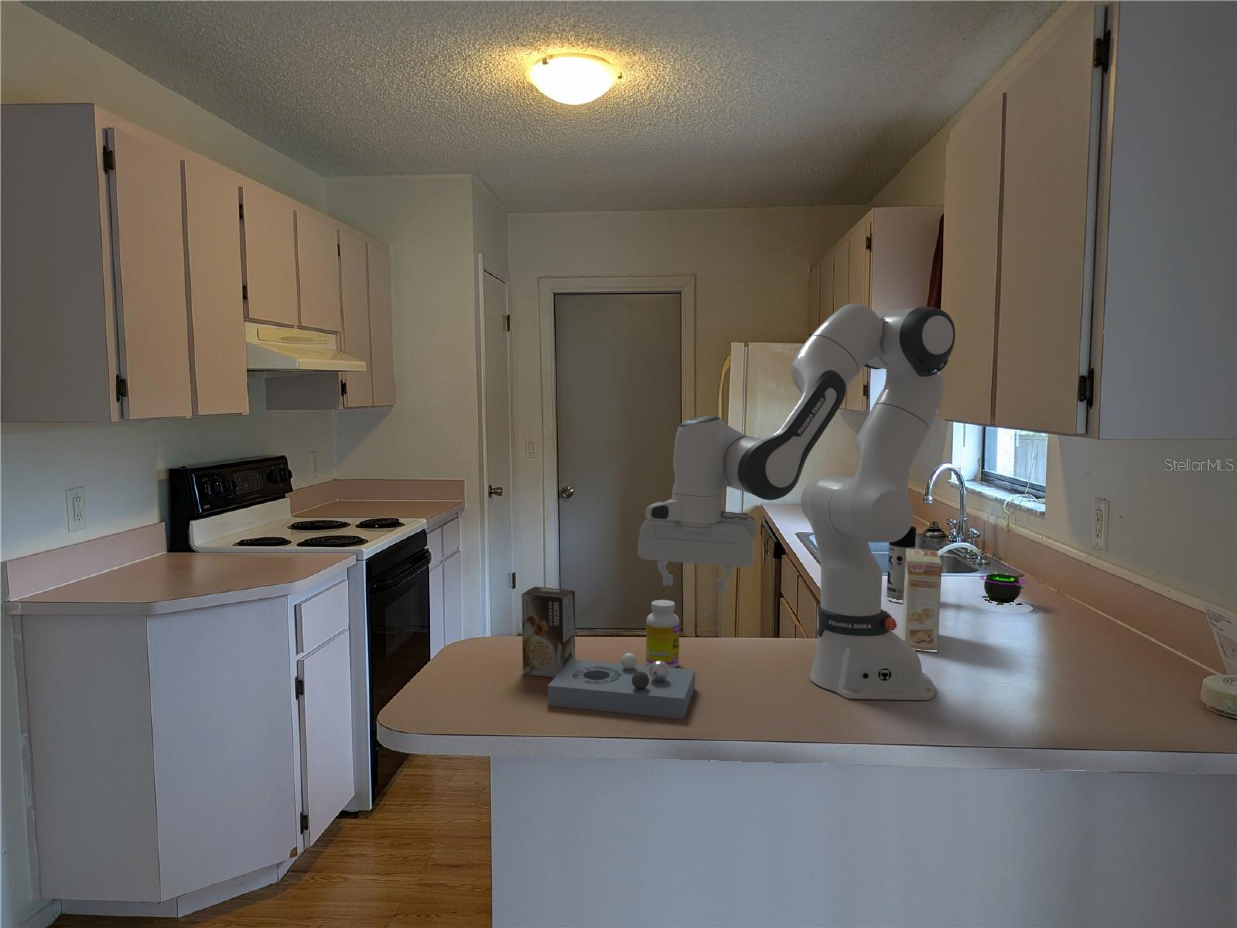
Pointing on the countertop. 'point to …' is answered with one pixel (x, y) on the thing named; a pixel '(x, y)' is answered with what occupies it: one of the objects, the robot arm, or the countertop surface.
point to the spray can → (899, 564)
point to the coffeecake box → (922, 599)
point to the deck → (621, 689)
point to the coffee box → (547, 630)
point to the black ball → (640, 680)
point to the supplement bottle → (662, 634)
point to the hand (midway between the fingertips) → (694, 587)
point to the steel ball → (659, 671)
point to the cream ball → (628, 661)
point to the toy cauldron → (1002, 587)
